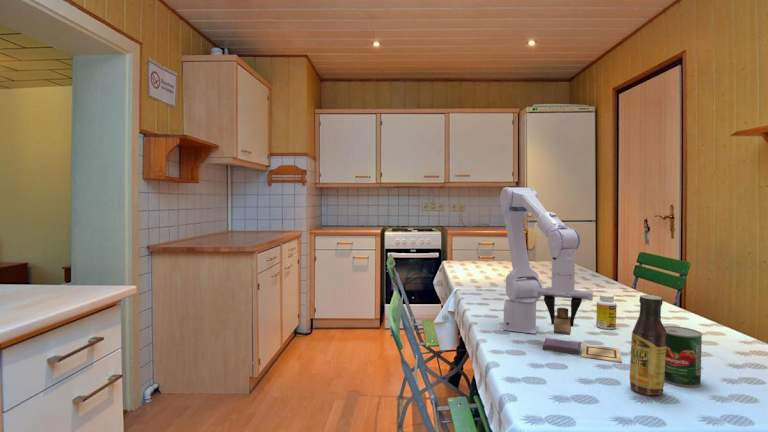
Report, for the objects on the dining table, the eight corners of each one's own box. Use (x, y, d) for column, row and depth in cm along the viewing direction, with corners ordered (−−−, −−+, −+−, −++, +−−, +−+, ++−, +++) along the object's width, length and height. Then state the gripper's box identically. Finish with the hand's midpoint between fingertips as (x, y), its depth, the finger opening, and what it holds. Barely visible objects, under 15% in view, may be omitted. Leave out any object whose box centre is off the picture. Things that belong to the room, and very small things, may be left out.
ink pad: (542, 349, 120) (542, 344, 120) (545, 342, 127) (545, 337, 127) (579, 354, 117) (579, 349, 117) (580, 346, 123) (580, 341, 123)
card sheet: (581, 357, 115) (581, 355, 115) (582, 345, 124) (582, 343, 124) (621, 362, 111) (621, 361, 111) (619, 349, 121) (619, 348, 121)
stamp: (553, 333, 121) (554, 309, 121) (555, 329, 124) (555, 306, 124) (569, 335, 119) (570, 311, 119) (570, 331, 123) (571, 308, 123)
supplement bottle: (609, 330, 138) (610, 297, 138) (592, 326, 143) (593, 294, 143) (619, 328, 141) (620, 295, 141) (602, 324, 146) (603, 292, 146)
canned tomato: (694, 376, 103) (695, 327, 102) (706, 389, 95) (707, 337, 95) (654, 371, 105) (655, 324, 105) (663, 384, 98) (664, 333, 97)
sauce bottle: (623, 385, 97) (624, 293, 96) (650, 384, 98) (652, 292, 97) (642, 398, 91) (645, 299, 90) (672, 397, 91) (674, 299, 90)
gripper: (532, 274, 121) (532, 324, 121) (592, 278, 114) (591, 331, 115) (536, 270, 127) (535, 318, 127) (593, 274, 121) (592, 324, 121)
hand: (562, 324), depth 121 cm, fingers closed on stamp, 4 cm apart
